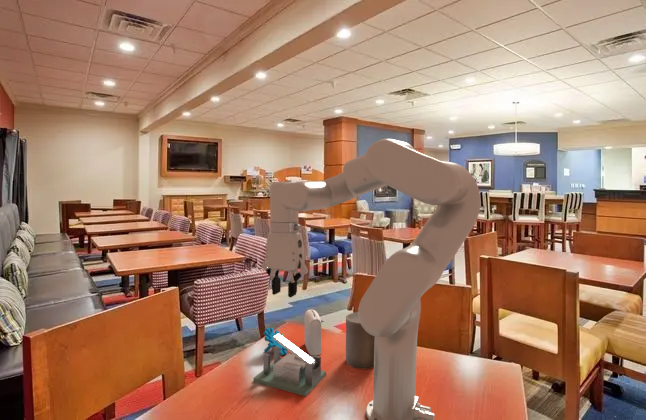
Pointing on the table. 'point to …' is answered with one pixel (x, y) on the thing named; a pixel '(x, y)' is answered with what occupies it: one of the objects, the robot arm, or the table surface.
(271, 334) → the gear
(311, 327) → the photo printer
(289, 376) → the grey block frame
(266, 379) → the board
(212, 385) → the table surface
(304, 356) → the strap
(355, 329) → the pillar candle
